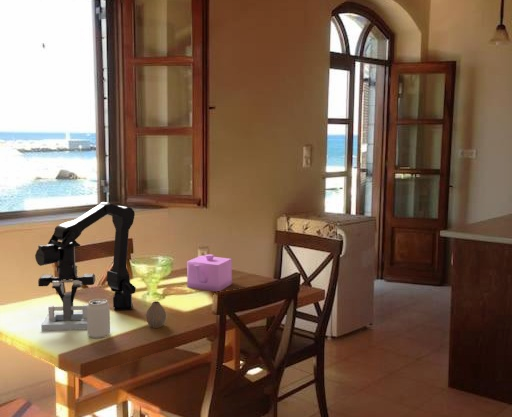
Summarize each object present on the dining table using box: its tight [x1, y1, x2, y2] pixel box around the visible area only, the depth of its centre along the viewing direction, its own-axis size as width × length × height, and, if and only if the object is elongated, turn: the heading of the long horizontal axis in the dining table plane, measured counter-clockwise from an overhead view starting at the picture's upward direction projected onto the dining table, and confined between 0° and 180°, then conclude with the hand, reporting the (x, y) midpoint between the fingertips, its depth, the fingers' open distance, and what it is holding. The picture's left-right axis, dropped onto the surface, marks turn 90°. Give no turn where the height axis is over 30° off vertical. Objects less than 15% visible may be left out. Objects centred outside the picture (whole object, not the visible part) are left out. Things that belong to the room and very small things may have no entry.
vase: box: [145, 301, 167, 329], centre depth 214 cm, size 7×7×9 cm
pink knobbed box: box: [186, 254, 233, 292], centre depth 264 cm, size 15×25×14 cm, turn 156°
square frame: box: [41, 304, 88, 332], centre depth 215 cm, size 16×13×6 cm
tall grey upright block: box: [62, 292, 75, 321], centre depth 215 cm, size 2×7×8 cm, turn 8°
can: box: [86, 298, 111, 339], centre depth 204 cm, size 8×8×12 cm
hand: (68, 303), depth 215 cm, fingers closed on tall grey upright block, 2 cm apart
